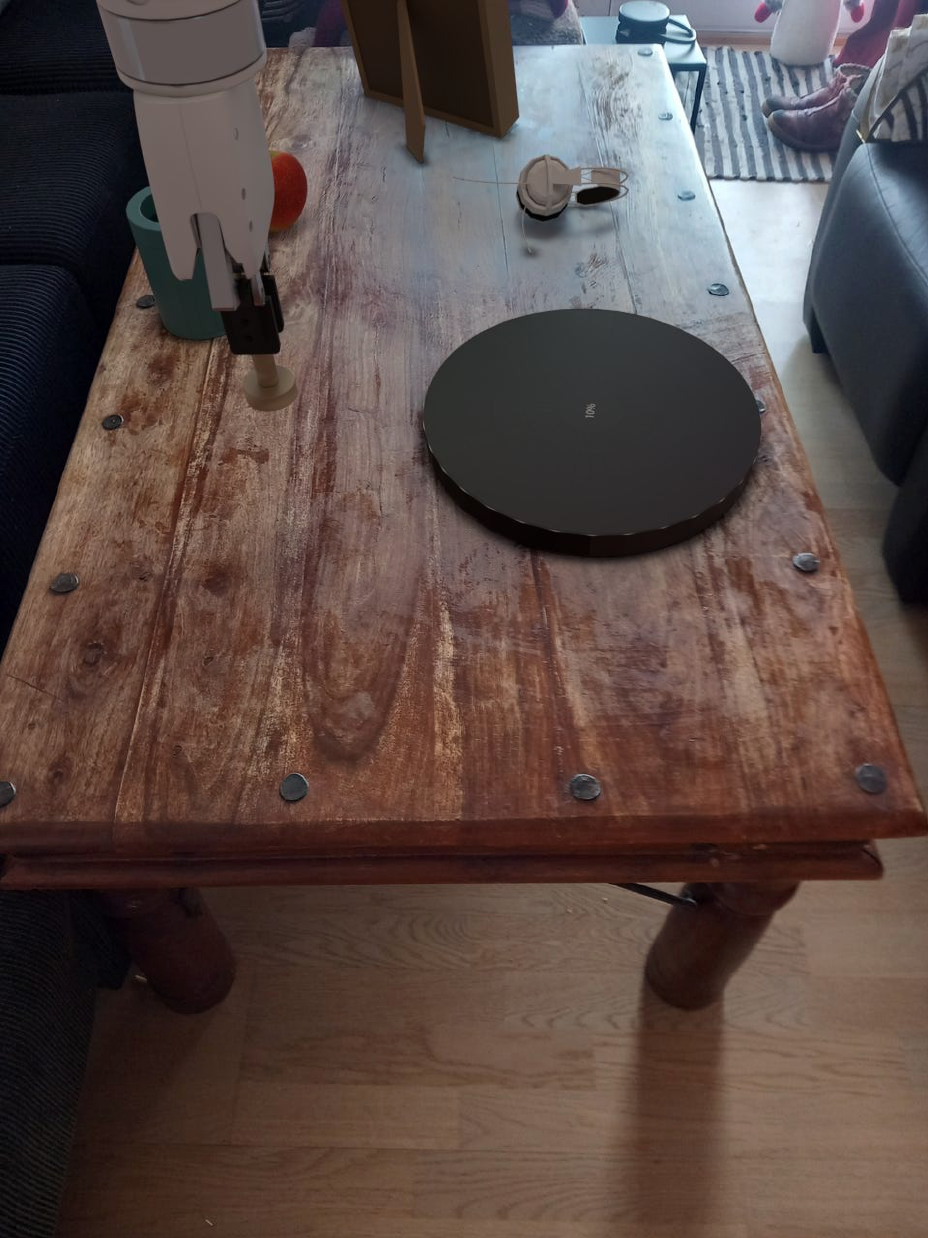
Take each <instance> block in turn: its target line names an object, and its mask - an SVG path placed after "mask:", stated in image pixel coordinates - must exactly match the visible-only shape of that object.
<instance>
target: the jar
mask: <svg viewBox="0 0 928 1238" xmlns="http://www.w3.org/2000/svg"><path fill="white" fill-rule="evenodd" d="M125 214H126V218H127V222H128V223H129V224H128V225H129V226H130V227H129V228H130V230H131V232H132V236H133V239H134V242H135V245H136V248H137V250H138V253H139V257H140V259H141V263H142V265H143V269H144V272H145V274H146V278H147V281H148V283H149V286H150V290H151V293H152V296H153V298H154V302H155V305H156V307H157V310H158V313H159V316H160V319H161V322H162V324H163V326H164V328H165V329H166V330H167V331H168V332H169V333H170V334H172V335H174V336H175V337H178V338H181V339H185V340H194V341H197V340H199V341H200V340H210V339H215V338H219V337H222V336H224V335H226V332H225V328H224V324H223V320H222V317H221V313H220V311H214V310H213V308H212V304H211V298H210V293H209V287H208V281H207V275H206V269H205V263H204V257H203V253H202V249H200V253H199V256H198V260H197V263H196V267H195V271H194V274H193V278H192V279H186V280H185V281H181V280H179V279H178V278H177V277H176V276H175V275H174V274H173V272H172V269H171V266H170V262H169V259H168V255H167V251H166V247H165V243H164V240H163V236H162V232H161V228H160V224H159V220H158V216H157V212H156V208H155V204H154V200H153V196H152V192H151V188H150V185H149V186H146V187H144V188H142V189H141V190H140V191H138V192H136V193H135V194H134V195H133V196H132V197H131V198H130V200H128V202H127V205H126V207H125Z"/></svg>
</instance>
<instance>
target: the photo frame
mask: <svg viewBox="0 0 928 1238" xmlns="http://www.w3.org/2000/svg"><path fill="white" fill-rule="evenodd" d="M340 5H341V8H342V12H343V16H344V20H345V24H346V27H347V33H348V36H349V40H350V44H351V47H352V51H353V54H354V59H355V63H356V67H357V71H358V74H359V77H360V83H361V86H362V89H363V94H364V97H366V98H369V99H372V100H375V101H379V102H382V103H385V104H389V105H392V106H395V107H399V108H400V109H403V111H404V113H403V115H404V127H405V142H406V143H405V144H406V148H407V150H409V151H410V153H411V154H412V155H413V157H414V158H415V159H416V160H417V161H418V162H419V163H423V162H424V153H425V143H426V142H425V141H426V128H427V125H426V118H425V116H427V117H430V118H433V119H436V120H440V121H442V122H446V123H450V124H453V125H456V126H459V127H461V128H465V129H469V130H472V131H474V132H478V133H481V134H485V135H488V136H491V137H495V138H497V139H500V140H502V139H503V138H504V137H505V136H506V135H507V133H508V132H509V131H510V130H511V128H512V127H513V126H514V125H515V123H516V122H517V121H518V119H519V118H520V109H519V107H520V106H519V100H518V99H519V98H518V90H517V89H518V88H517V87H518V86H517V78H516V69H515V68H516V67H515V58H514V49H513V47H514V46H513V38H512V27H511V15H510V8H509V0H340Z"/></svg>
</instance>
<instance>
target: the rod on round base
mask: <svg viewBox="0 0 928 1238" xmlns="http://www.w3.org/2000/svg"><path fill="white" fill-rule="evenodd" d="M233 276H234V278H245V279H246V280H247V281H248V279H247V277H246V275H242V274H241V273H233ZM251 359H252V364H253V366H254V368H252V369H251V370H249V371H248V372H247V373H246V374H245V376H244V377H243V379H242V384H241V385H242V390H243V393H244V398H245V401H246V403H247V404H248V405H249V406H250V407H251V408H252V409H254V410H256V411H259V412H263V413H264V412H265V413H272V412H277V411H281V410H283V409H286V408H288V407H289V406H290V405H291V404H293V403H294V402H295V401H296V399H297V397H298V394H299V393H298V392H299V390H298V386H297V381H296V376H295V373H294V372H293V371H292V370H291V369H290V368H289V367H287V366H285V365H282V364H276V360H275V357H274V354H264V355H251Z"/></svg>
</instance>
